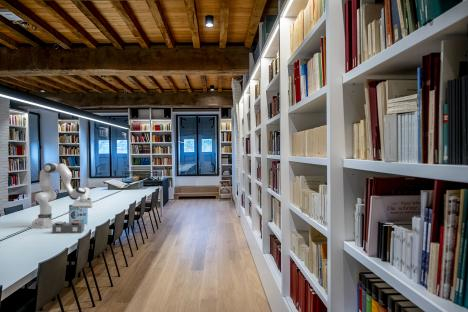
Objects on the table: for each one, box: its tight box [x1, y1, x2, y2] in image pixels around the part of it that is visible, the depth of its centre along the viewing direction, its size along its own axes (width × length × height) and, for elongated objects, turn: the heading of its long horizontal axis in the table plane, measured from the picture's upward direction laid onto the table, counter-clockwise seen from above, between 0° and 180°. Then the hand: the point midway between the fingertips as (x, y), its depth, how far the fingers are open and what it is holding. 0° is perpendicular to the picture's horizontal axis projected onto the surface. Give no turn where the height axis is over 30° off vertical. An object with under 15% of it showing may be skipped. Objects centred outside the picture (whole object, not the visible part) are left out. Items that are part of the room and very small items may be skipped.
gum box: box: [68, 204, 89, 225], centre depth 394 cm, size 20×5×23 cm, turn 123°
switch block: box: [51, 221, 85, 234], centre depth 353 cm, size 28×10×10 cm, turn 98°
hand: (81, 210), depth 368 cm, fingers closed
